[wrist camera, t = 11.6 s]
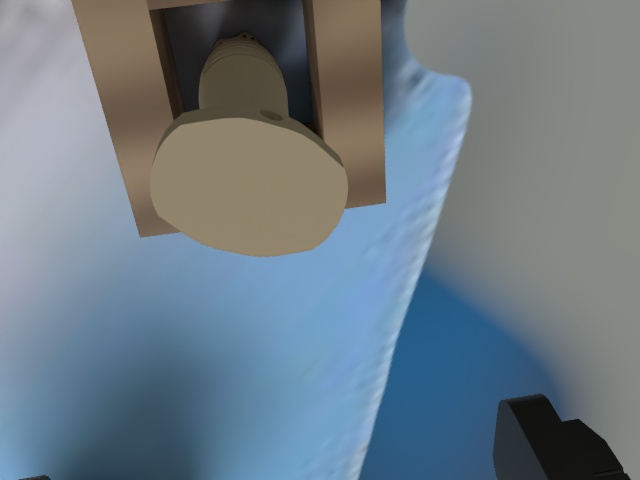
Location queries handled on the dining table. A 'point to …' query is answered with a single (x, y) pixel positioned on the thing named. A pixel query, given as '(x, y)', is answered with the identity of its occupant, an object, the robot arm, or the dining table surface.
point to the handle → (247, 162)
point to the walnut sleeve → (167, 104)
